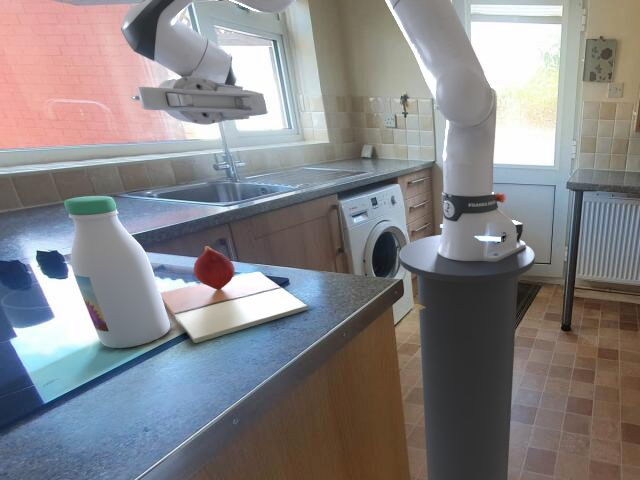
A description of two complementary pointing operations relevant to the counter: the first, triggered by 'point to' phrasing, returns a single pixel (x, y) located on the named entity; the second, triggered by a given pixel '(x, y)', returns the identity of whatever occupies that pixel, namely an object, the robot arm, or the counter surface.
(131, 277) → the milk bottle
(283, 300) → the sorting board
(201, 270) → the onion
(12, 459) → the counter surface
